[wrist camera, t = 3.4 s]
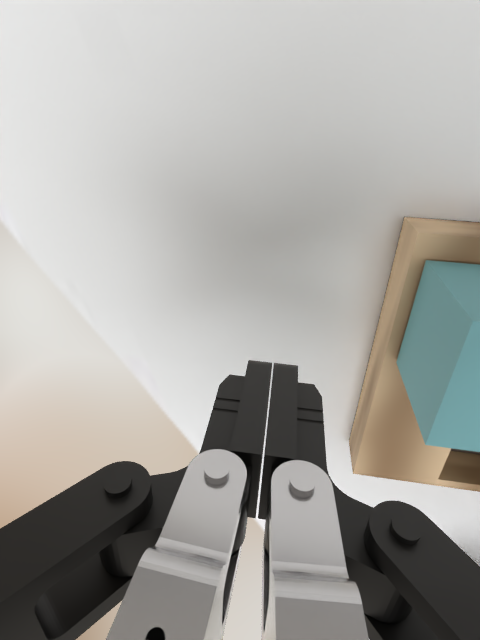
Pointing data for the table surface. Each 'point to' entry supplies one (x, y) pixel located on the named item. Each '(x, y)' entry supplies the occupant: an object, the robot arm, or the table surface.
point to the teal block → (445, 355)
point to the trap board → (385, 379)
